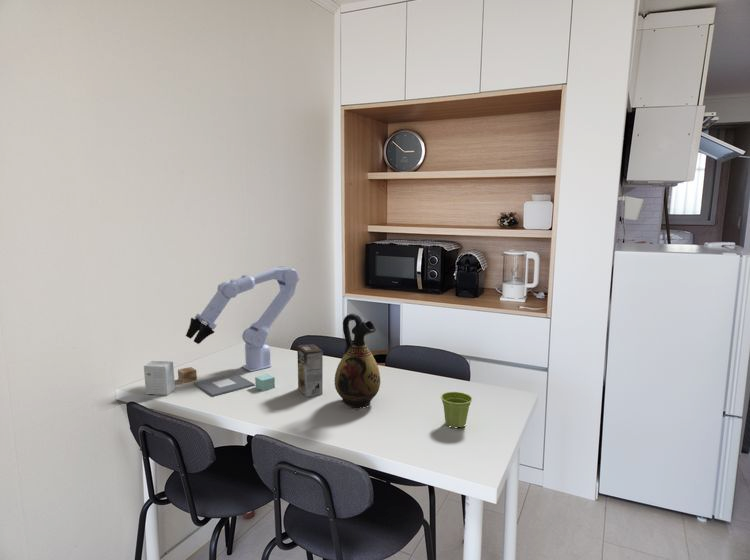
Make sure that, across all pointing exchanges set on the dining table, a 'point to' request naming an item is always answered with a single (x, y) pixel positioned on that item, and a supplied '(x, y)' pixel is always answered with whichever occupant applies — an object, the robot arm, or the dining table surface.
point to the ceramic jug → (357, 366)
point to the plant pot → (456, 408)
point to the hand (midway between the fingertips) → (191, 340)
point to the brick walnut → (187, 374)
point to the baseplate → (223, 384)
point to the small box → (159, 377)
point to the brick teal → (265, 382)
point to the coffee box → (310, 370)
